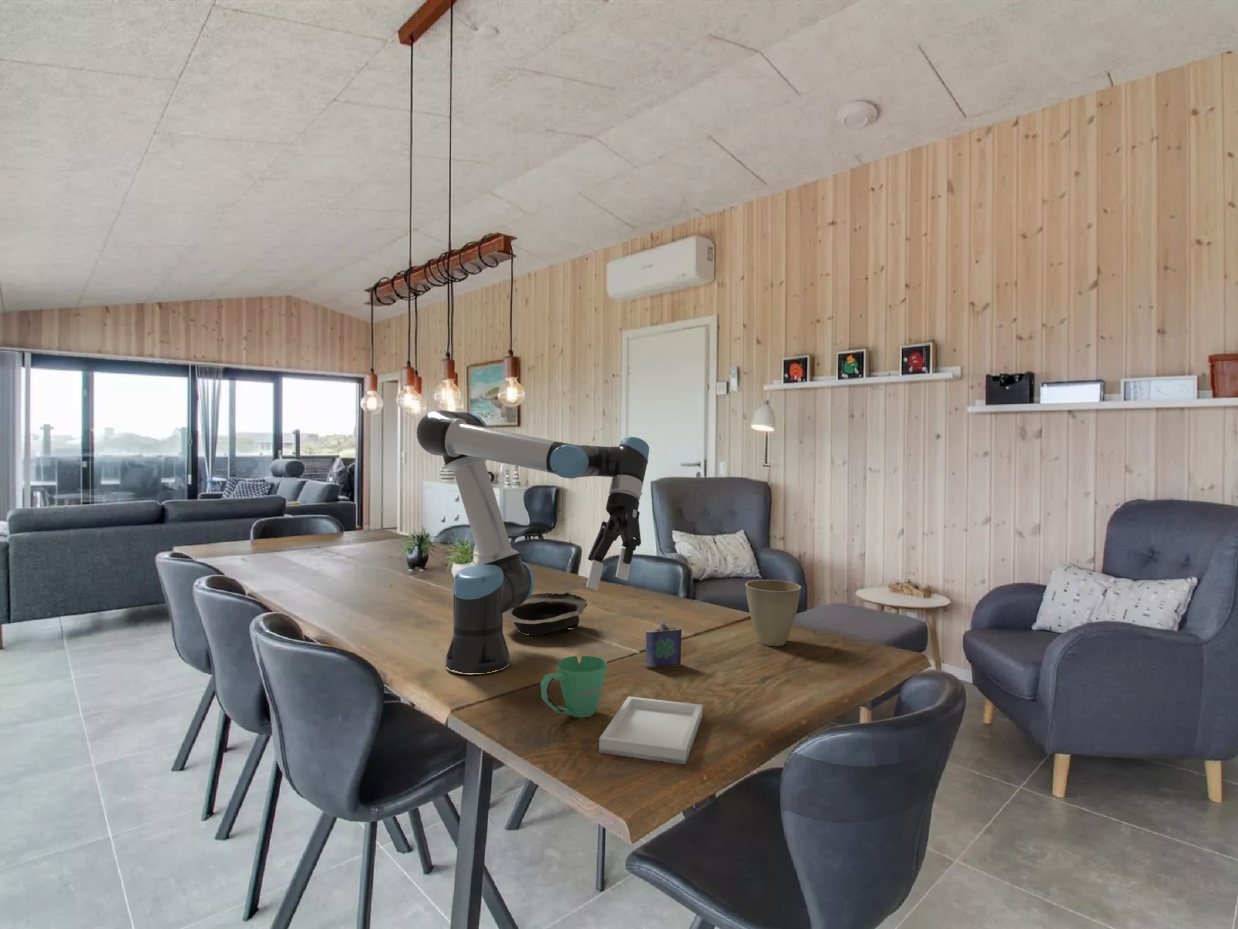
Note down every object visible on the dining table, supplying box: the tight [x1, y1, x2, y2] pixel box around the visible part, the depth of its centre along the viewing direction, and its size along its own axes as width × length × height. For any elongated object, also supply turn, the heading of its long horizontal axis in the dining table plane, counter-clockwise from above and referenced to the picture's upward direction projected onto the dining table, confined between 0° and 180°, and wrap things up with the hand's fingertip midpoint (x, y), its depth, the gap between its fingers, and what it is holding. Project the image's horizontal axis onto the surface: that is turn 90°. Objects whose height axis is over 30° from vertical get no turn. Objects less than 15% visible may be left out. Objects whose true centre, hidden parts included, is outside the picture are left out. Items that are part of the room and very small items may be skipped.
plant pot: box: [744, 579, 802, 647], centre depth 176 cm, size 15×15×16 cm
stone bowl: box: [503, 592, 589, 636], centre depth 186 cm, size 25×25×9 cm
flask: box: [644, 620, 682, 669], centre depth 156 cm, size 9×3×11 cm, turn 109°
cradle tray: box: [598, 695, 703, 765], centre depth 118 cm, size 15×20×2 cm
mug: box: [540, 655, 608, 718], centre depth 125 cm, size 15×10×10 cm
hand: (606, 583), depth 142 cm, fingers open, 13 cm apart
